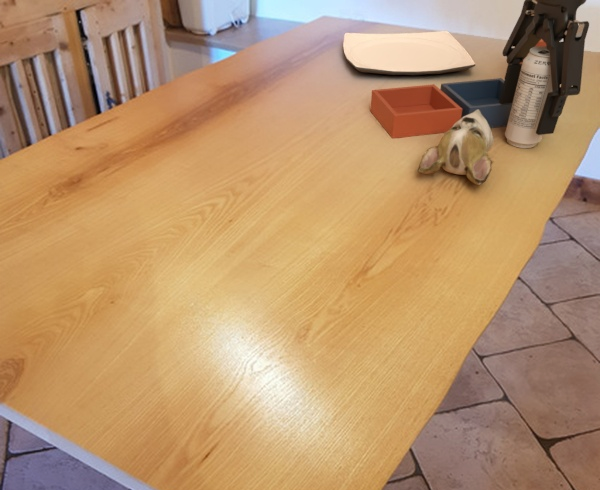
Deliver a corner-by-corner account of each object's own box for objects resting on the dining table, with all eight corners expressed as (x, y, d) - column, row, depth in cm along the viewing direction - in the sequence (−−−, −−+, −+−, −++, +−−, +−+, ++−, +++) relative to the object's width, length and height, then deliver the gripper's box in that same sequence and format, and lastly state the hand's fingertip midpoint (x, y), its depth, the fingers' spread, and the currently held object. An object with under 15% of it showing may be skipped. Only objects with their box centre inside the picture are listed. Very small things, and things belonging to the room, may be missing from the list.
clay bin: (458, 131, 99) (462, 108, 96) (392, 138, 97) (394, 115, 94) (431, 105, 108) (434, 84, 105) (370, 111, 106) (371, 89, 104)
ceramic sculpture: (514, 104, 85) (492, 148, 75) (503, 155, 91) (480, 201, 81) (447, 94, 89) (417, 135, 79) (440, 143, 95) (412, 186, 85)
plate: (350, 82, 118) (350, 69, 117) (338, 42, 140) (338, 31, 138) (481, 79, 119) (483, 66, 117) (449, 40, 140) (451, 29, 139)
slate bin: (529, 123, 101) (535, 101, 98) (465, 130, 99) (470, 108, 96) (496, 98, 110) (501, 78, 108) (437, 104, 108) (441, 83, 106)
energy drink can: (547, 144, 94) (575, 52, 85) (522, 152, 92) (547, 59, 82) (520, 131, 98) (544, 43, 88) (496, 139, 96) (517, 49, 86)
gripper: (502, -45, 87) (473, 92, 101) (594, -7, 69) (542, 151, 84) (545, -47, 88) (510, 88, 102) (646, -10, 70) (586, 147, 85)
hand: (524, 117), depth 93 cm, fingers open, 12 cm apart
